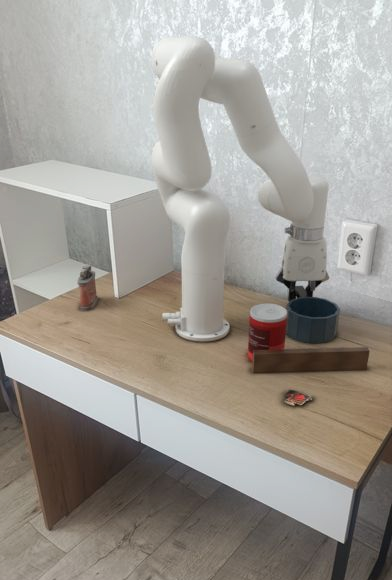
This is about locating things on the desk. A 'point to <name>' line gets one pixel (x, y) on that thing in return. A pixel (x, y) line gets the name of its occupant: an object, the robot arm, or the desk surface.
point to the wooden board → (310, 359)
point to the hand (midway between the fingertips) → (299, 303)
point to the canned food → (266, 328)
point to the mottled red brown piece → (296, 397)
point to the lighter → (87, 288)
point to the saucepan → (311, 318)
